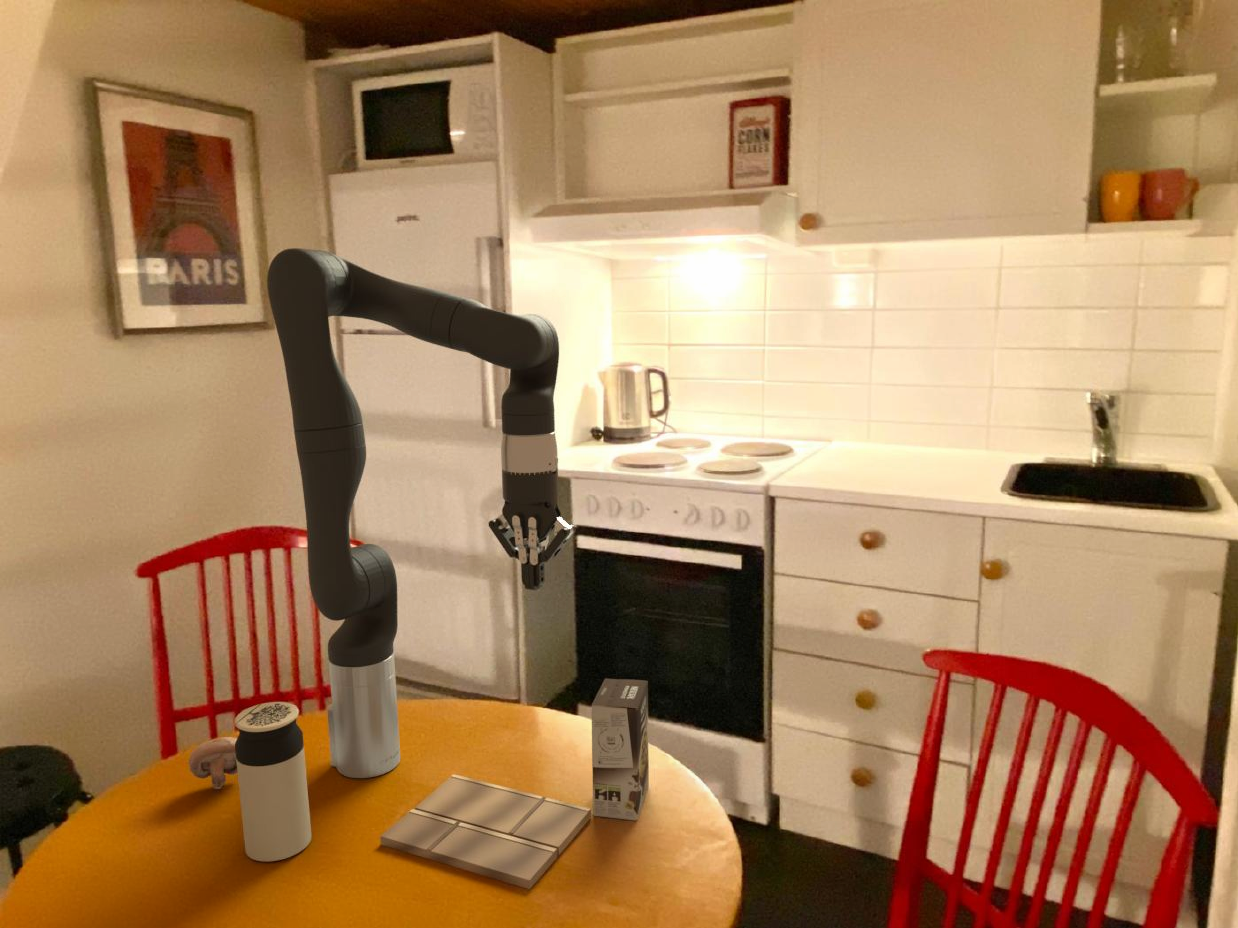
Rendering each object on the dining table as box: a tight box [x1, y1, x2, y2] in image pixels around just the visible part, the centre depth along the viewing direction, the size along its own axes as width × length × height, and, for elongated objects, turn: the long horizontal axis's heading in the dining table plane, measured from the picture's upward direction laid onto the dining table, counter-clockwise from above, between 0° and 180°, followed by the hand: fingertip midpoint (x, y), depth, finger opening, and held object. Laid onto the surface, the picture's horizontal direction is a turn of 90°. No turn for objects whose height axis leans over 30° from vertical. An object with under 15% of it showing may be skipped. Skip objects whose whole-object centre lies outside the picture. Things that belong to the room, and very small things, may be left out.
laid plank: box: [380, 808, 558, 890], centre depth 116 cm, size 22×7×1 cm, turn 65°
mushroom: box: [188, 736, 238, 790], centre depth 131 cm, size 8×6×8 cm
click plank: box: [414, 774, 592, 856], centre depth 123 cm, size 22×9×1 cm, turn 65°
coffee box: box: [591, 678, 650, 821], centre depth 125 cm, size 9×6×16 cm
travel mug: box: [234, 701, 312, 862], centre depth 116 cm, size 8×8×18 cm
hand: (533, 588), depth 127 cm, fingers closed
